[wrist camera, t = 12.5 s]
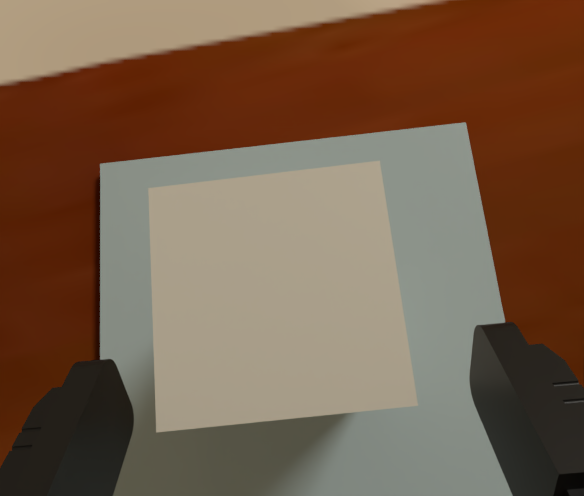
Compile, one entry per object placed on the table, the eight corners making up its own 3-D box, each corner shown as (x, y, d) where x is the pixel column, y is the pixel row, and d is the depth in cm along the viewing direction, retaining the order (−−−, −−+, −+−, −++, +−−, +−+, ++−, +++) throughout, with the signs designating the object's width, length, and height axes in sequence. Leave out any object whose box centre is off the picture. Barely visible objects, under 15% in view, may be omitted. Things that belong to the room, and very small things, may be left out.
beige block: (352, 261, 20) (380, 160, 11) (370, 388, 19) (418, 405, 9) (231, 275, 20) (148, 188, 11) (240, 402, 19) (155, 432, 10)
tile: (461, 129, 22) (465, 122, 21) (539, 529, 18) (546, 534, 18) (106, 169, 23) (100, 164, 22) (106, 566, 19) (99, 572, 18)
